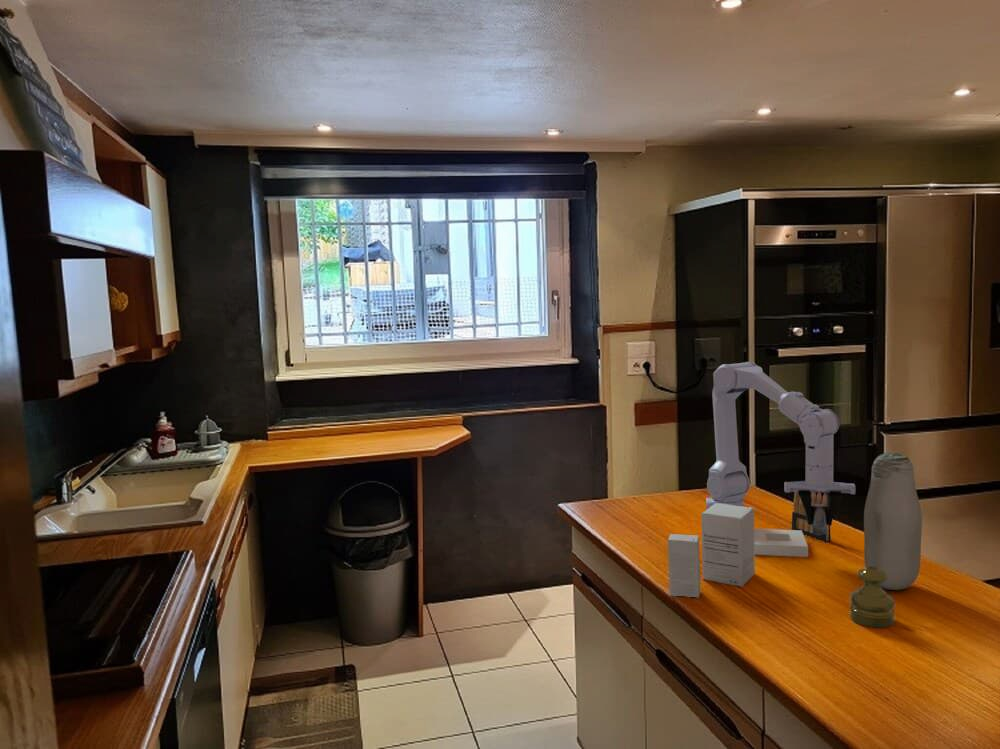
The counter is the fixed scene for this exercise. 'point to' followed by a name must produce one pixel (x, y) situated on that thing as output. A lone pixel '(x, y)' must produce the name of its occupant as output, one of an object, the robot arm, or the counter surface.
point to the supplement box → (728, 544)
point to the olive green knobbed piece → (872, 600)
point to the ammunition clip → (801, 519)
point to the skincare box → (684, 565)
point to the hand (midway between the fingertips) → (819, 523)
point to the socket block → (780, 542)
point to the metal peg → (819, 519)
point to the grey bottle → (893, 521)
